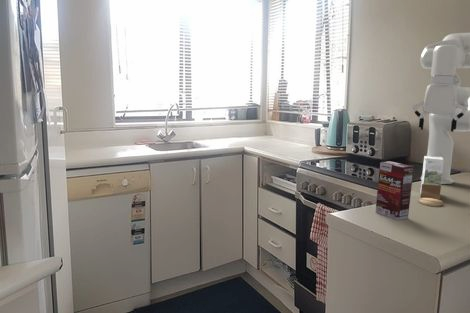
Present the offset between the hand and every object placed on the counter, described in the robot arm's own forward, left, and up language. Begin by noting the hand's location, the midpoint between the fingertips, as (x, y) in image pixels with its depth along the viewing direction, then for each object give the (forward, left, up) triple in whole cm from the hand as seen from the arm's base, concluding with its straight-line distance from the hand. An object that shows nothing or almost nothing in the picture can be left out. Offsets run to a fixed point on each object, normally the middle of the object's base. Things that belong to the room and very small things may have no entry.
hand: (436, 130), depth 138 cm
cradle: (0, 0, -24) cm, 24 cm away
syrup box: (0, 0, -24) cm, 24 cm away
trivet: (+11, 0, -24) cm, 27 cm away
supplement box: (+33, -11, -24) cm, 42 cm away
